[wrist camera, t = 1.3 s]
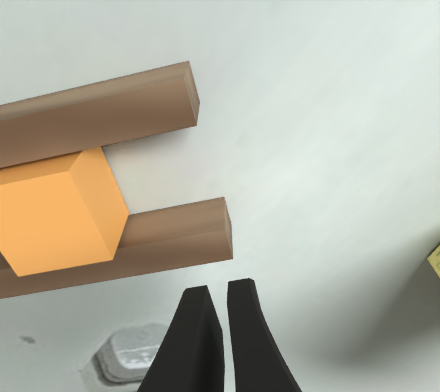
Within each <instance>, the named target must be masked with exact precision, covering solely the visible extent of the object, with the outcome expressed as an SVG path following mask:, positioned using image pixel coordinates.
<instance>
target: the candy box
mask: <svg viewBox="0 0 440 392" xmlns="http://www.w3.org/2000/svg"><path fill="white" fill-rule="evenodd" d="M427 260H428V261H429V263H430V264H431V266H432V267H433V269H434V270H435V272H436V273H437V275H438V276H439V278H440V245H439V246H438V247H437V248H436V249H435V250H434V251H433V253H432V254H431V255H430V256H429V257H428V259H427Z"/></svg>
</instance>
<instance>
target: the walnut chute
mask: <svg viewBox="0 0 440 392" xmlns="http://www.w3.org/2000/svg"><path fill="white" fill-rule="evenodd" d="M199 104H200V102H199V98H198V94H197V90H196V86H195V82H194V78H193V75H192V71H191V67H190V63H189V61H186V62H182V63H178V64H174V65H169V66H165V67H161V68H157V69H152V70H148V71H144V72H140V73H135V74H131V75H127V76H123V77H118V78H114V79H110V80H106V81H101V82H97V83H93V84H89V85H84V86H80V87H76V88H72V89H67V90H63V91H59V92H55V93H50V94H46V95H42V96H38V97H34V98H29V99H25V100H21V101H17V102H12V103H8V104H4V105H0V168H2V167H7V166H11V165H16V164H21V163H25V162H30V161H35V160H39V159H44V158H49V157H53V156H58V155H63V154H67V153H72V152H77V151H81V150H86V149H91V148H95V147H100V146H104V145H109V144H114V143H118V142H123V141H128V140H132V139H137V138H142V137H146V136H151V135H156V134H160V133H165V132H170V131H174V130H179V129H184V128H188V127H193V126H197V120H198V112H199ZM230 259H233V248H232V227H231V221H230V217H229V214H228V210H227V206H226V202H225V198H224V197H222V198H216V199H211V200H206V201H201V202H195V203H190V204H185V205H180V206H174V207H169V208H164V209H159V210H154V211H148V212H143V213H138V214H133V215H128V218H127V221H126V223H125V226H124V229H123V232H122V235H121V238H120V241H119V243H118V246H117V249H116V252H115V255H114V258H113V260H109V261H104V262H98V263H92V264H87V265H81V266H76V267H70V268H64V269H59V270H53V271H47V272H42V273H36V274H30V275H25V276H19V277H18V276H17V274H16V273H15V272H14V270H13V269H12V267H11V266H10V264H9V263H8V262H7V260H6V259H5V257H4V256H3V255H2V253H1V252H0V299H2V298H8V297H14V296H20V295H26V294H32V293H37V292H43V291H49V290H55V289H61V288H67V287H72V286H78V285H84V284H90V283H96V282H102V281H108V280H113V279H119V278H125V277H131V276H137V275H143V274H148V273H154V272H160V271H166V270H172V269H178V268H184V267H189V266H195V265H201V264H207V263H213V262H219V261H224V260H230Z"/></svg>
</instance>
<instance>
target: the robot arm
mask: <svg viewBox="0 0 440 392" xmlns="http://www.w3.org/2000/svg"><path fill="white" fill-rule="evenodd" d="M227 308H228V317H229V326H230V335H231V344H232V353H233V361H234V370H235V385H236V392H302V391H301V389H300V388H299V386H298V384H297V382H296V381H295V379H294V377H293V375H292V374H291V372H290V370H289V368H288V366H287V364H286V363H285V361H284V359H283V357H282V355H281V353H280V351H279V349H278V347H277V345H276V343H275V341H274V339H273V336H272V334H271V332H270V330H269V328H268V326H267V323H266V321H265V318H264V316H263V313H262V310H261V307H260V303H259V299H258V294H257V290H256V286H255V282H254V280H252V279H250V278H247V279H241V280H235V281H229V282H228V292H227ZM224 374H225V363H224V347H223V333H222V328H221V326H220V323H219V320H218V317H217V314H216V311H215V308H214V305H213V302H212V299H211V296H210V293H209V290H208V287H207V285H205V286H198V287H192V288H186V289H185V291H184V292H183V295H182V297H181V300H180V303H179V305H178V308H177V310H176V312H175V315H174V317H173V320H172V322H171V324H170V326H169V329H168V331H167V333H166V335H165V337H164V340H163V342H162V344H161V346H160V348H159V350H158V352H157V354H156V356H155V358H154V360H153V362H152V364H151V366H150V368H149V370H148V372H147V374H146V376H145V377H144V379H143V381H142V383H141V385H140V387H139V389H138V391H137V392H224Z"/></svg>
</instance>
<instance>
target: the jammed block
mask: <svg viewBox="0 0 440 392" xmlns="http://www.w3.org/2000/svg"><path fill="white" fill-rule="evenodd" d="M128 215H129V211H128V208H127V206H126V204H125V201H124V199H123V197H122V194H121V192H120V190H119V187H118V185H117V183H116V180H115V178H114V176H113V173H112V171H111V169H110V166H109V164H108V162H107V159H106V157H105V155H104V153H103V150H102V148H101V146H100V147H95V148H91V149H86V150H81V151H77V152H72V153H67V154H63V155H58V156H53V157H49V158H44V159H39V160H35V161H30V162H25V163H21V164H16V165H11V166H7V167H2V168H0V252H1V253H2V255H3V256H4V257H5V259H6V260H7V262H8V263H9V264H10V266H11V267H12V269H13V270H14V272H15V273H16V274H17V276H18V277H19V276H25V275H30V274H36V273H42V272H47V271H53V270H59V269H64V268H70V267H76V266H81V265H87V264H92V263H98V262H104V261H109V260H113V258H114V255H115V252H116V249H117V246H118V243H119V241H120V238H121V235H122V232H123V229H124V226H125V223H126V221H127V218H128Z"/></svg>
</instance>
